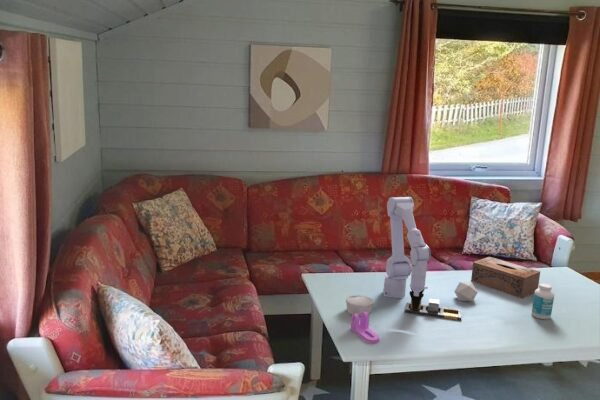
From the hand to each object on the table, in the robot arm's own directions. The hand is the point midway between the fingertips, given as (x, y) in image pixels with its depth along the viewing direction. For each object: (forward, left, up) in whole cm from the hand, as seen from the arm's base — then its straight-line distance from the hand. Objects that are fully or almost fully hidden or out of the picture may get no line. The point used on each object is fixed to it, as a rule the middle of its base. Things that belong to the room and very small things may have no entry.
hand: (415, 306), depth 224 cm
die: (+20, +20, -3) cm, 28 cm away
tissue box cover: (+38, +45, -3) cm, 59 cm away
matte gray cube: (+7, 0, -2) cm, 7 cm away
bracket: (-16, -28, -3) cm, 32 cm away
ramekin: (-22, -8, -3) cm, 24 cm away
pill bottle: (+50, +14, -3) cm, 52 cm away
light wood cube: (0, 0, -2) cm, 2 cm away
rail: (+7, 0, -2) cm, 7 cm away
